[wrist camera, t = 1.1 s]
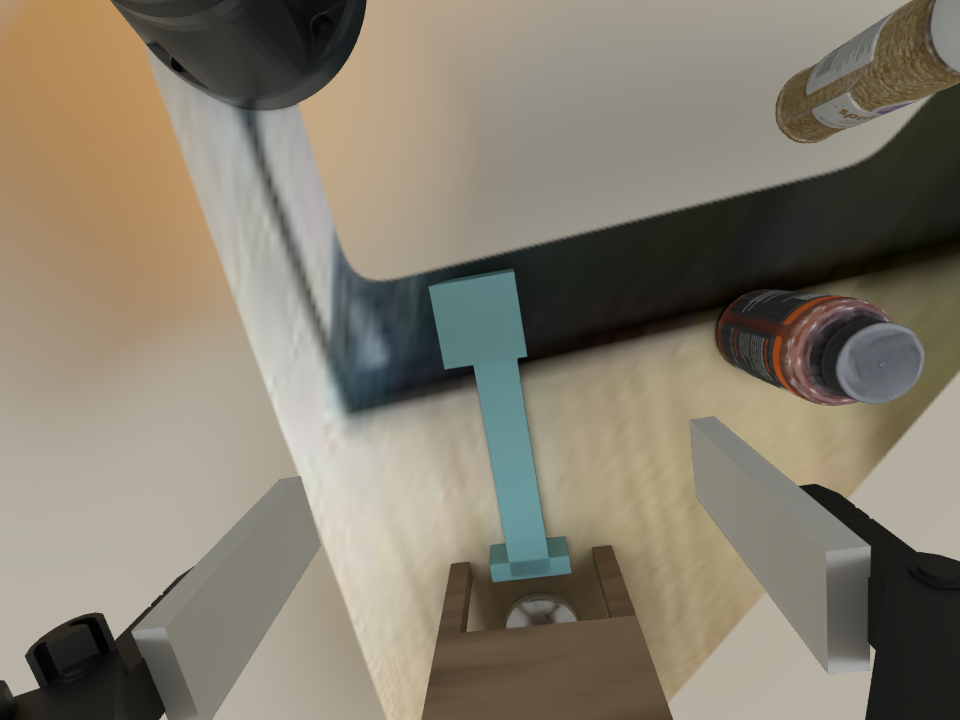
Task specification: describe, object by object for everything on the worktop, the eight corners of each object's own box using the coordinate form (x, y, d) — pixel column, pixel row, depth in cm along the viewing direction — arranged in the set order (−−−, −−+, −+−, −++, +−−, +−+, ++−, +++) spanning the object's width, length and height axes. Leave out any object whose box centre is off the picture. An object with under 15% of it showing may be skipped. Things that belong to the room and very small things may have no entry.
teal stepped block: (441, 280, 34) (413, 289, 24) (523, 266, 33) (529, 268, 23) (493, 561, 38) (488, 664, 29) (567, 553, 38) (587, 655, 28)
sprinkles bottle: (791, 159, 31) (1001, 83, 18) (760, 95, 30) (953, -33, 17) (859, 117, 30) (1131, 6, 17) (828, 51, 29) (1087, -118, 16)
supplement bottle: (746, 387, 34) (860, 449, 23) (695, 327, 33) (787, 360, 22) (818, 333, 33) (974, 370, 22) (767, 269, 32) (901, 274, 21)
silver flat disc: (500, 593, 39) (500, 606, 38) (572, 585, 39) (574, 598, 37) (511, 654, 40) (512, 669, 39) (581, 647, 40) (584, 662, 38)
